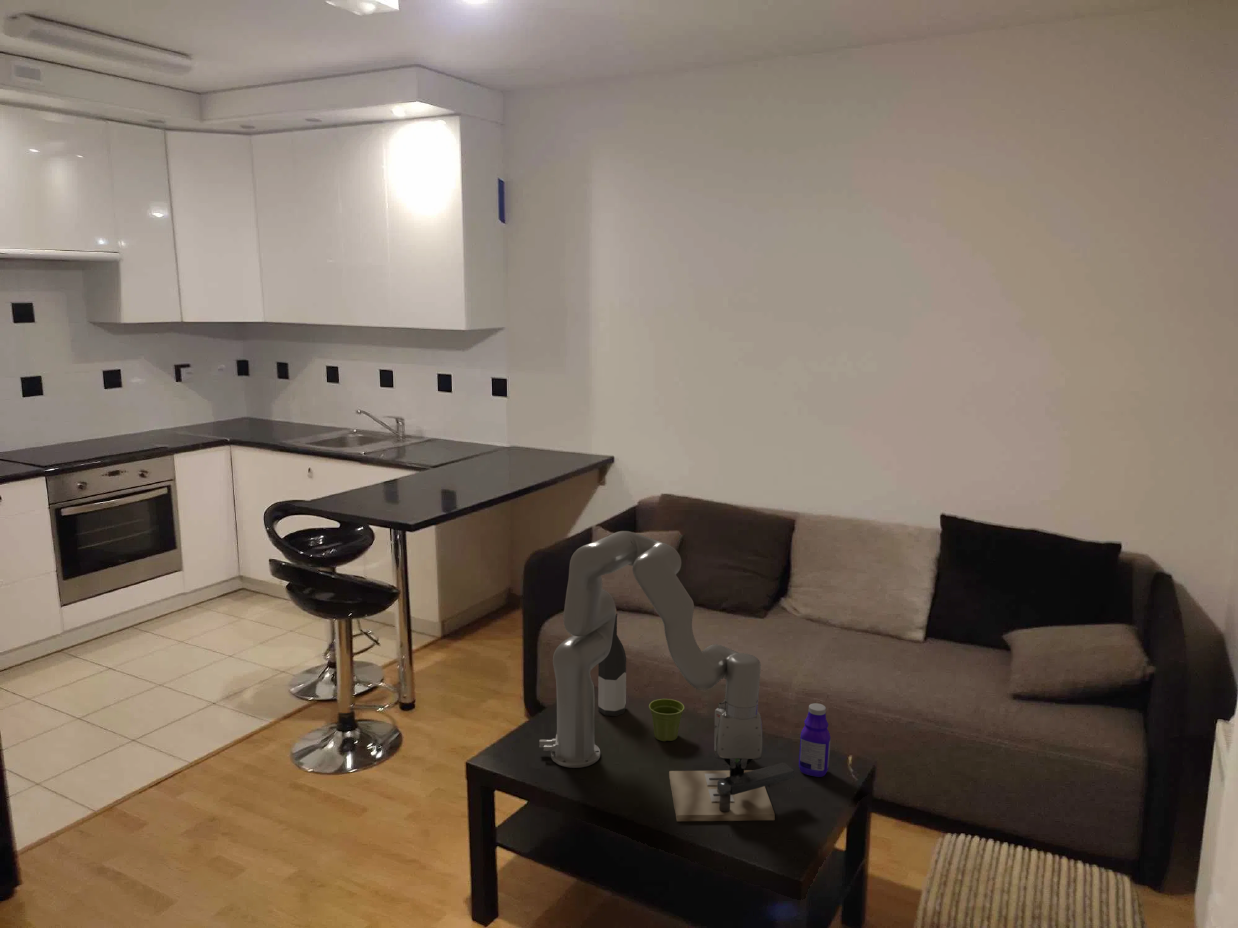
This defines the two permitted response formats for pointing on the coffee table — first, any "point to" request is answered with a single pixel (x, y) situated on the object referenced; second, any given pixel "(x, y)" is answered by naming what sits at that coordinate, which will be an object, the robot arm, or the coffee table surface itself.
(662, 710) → the plant pot
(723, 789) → the swing bar
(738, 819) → the label board
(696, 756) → the coffee table surface
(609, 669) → the wine bottle
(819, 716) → the bottle
